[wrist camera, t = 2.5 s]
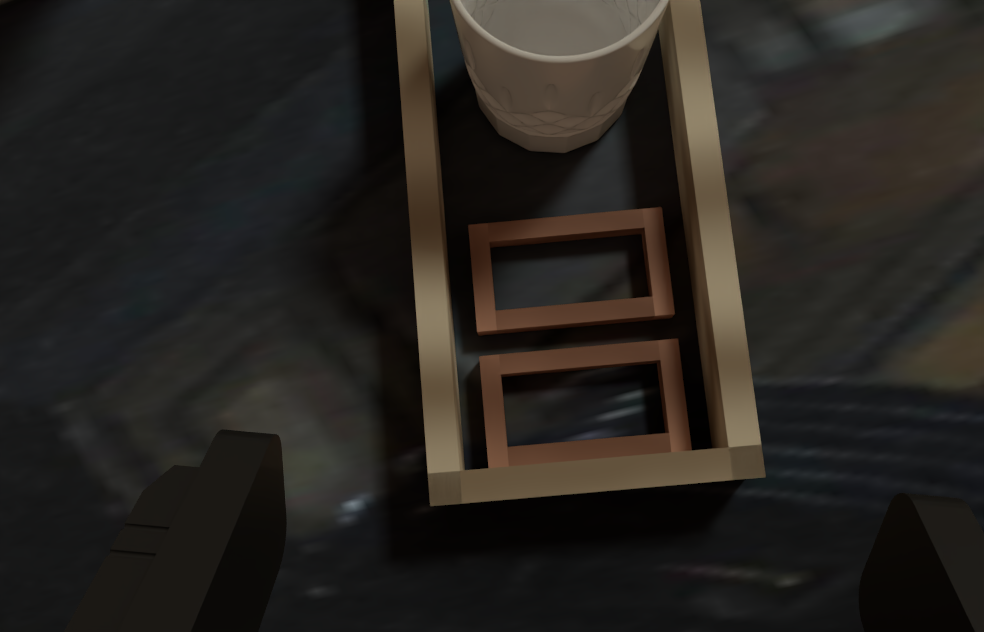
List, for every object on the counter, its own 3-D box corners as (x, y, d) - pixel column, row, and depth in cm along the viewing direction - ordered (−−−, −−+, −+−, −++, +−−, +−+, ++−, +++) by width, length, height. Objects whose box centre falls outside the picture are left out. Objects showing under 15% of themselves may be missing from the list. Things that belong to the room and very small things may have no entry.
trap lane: (746, 477, 37) (765, 477, 34) (437, 504, 37) (430, 506, 34) (651, -229, 43) (660, -282, 40) (385, -202, 43) (375, -253, 40)
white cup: (454, 162, 40) (431, 55, 30) (468, -6, 41) (450, -161, 31) (638, 172, 39) (676, 68, 29) (646, 2, 41) (685, -152, 31)
